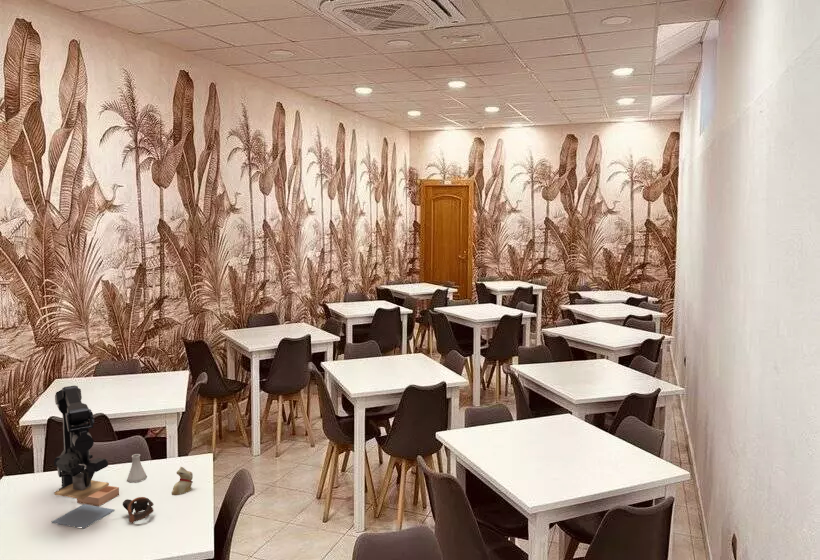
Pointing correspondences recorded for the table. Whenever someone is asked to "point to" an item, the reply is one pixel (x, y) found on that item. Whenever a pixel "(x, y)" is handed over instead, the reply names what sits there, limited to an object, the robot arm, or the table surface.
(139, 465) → the flask
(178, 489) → the chocolate bunny
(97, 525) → the table surface
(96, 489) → the wooden lid
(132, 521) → the brown curved piece
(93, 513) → the slate mat
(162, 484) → the table surface
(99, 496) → the terracotta dish
